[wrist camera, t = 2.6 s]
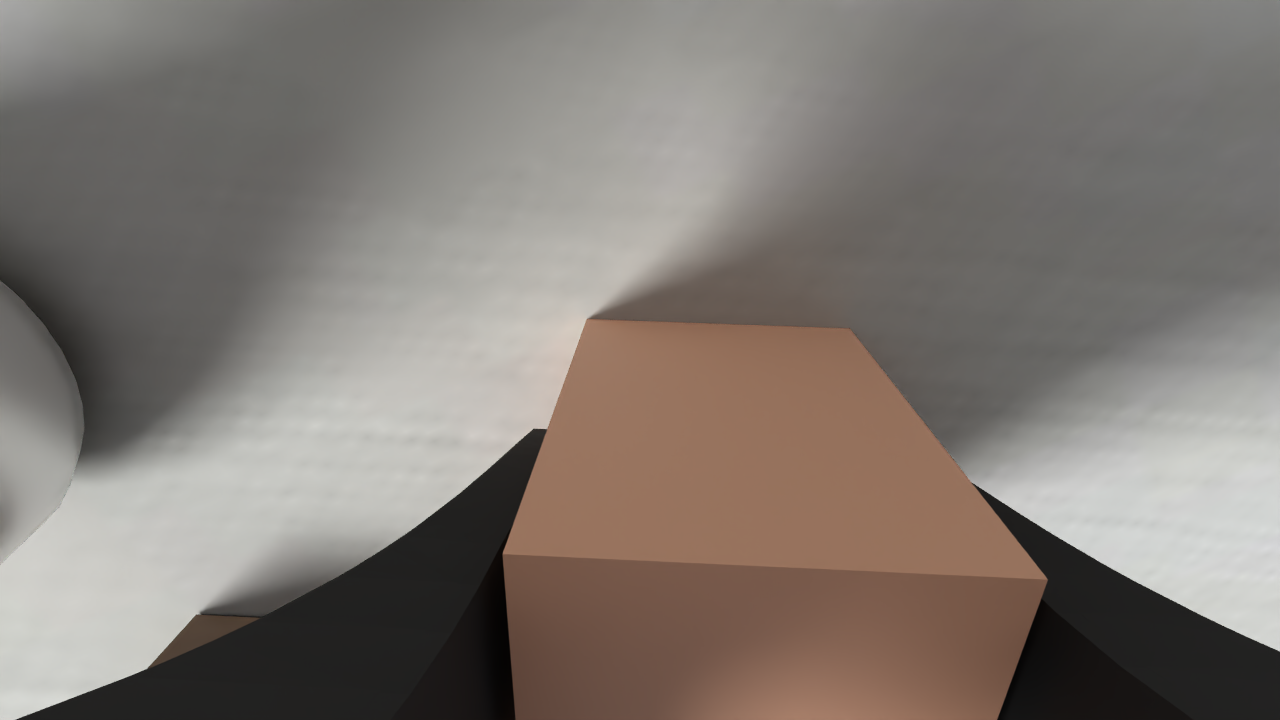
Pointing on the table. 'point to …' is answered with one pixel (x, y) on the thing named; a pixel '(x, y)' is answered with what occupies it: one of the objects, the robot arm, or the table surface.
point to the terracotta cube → (754, 541)
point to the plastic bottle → (33, 423)
